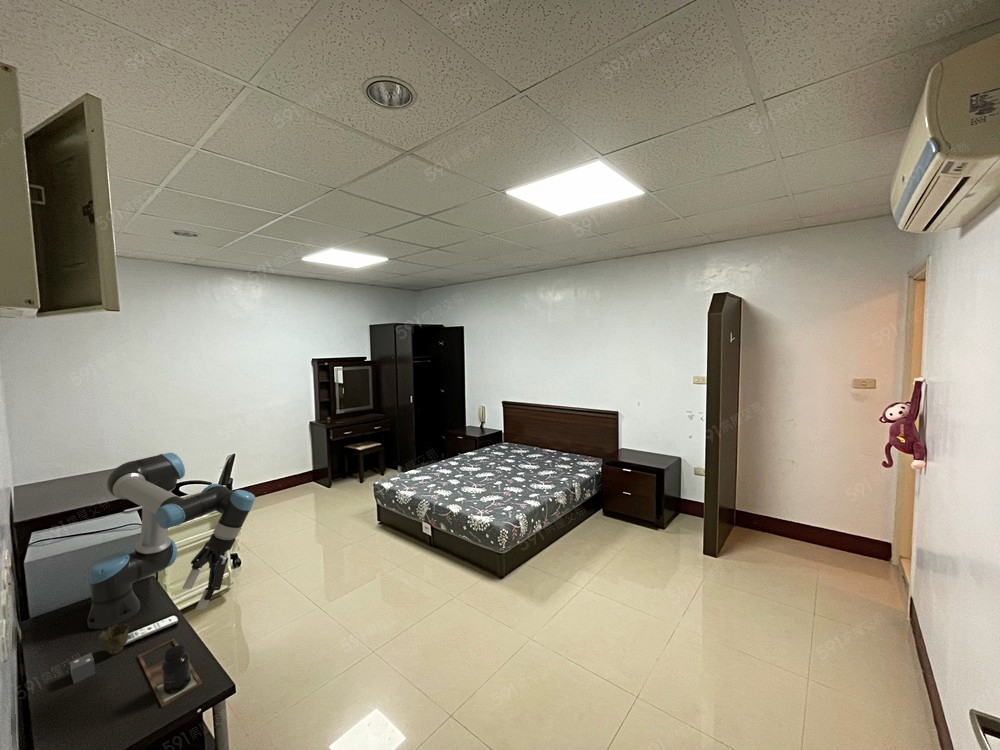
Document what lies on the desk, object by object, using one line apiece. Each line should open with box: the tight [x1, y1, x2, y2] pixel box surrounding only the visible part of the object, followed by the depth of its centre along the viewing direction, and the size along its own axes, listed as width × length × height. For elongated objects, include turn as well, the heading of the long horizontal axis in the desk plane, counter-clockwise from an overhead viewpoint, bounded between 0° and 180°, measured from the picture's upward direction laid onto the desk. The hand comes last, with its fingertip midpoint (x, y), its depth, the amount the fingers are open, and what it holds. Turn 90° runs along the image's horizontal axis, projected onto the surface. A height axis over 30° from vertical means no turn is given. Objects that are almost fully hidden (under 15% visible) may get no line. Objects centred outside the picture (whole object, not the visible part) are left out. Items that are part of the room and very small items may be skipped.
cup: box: [99, 623, 130, 655], centre depth 142 cm, size 8×7×8 cm
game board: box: [137, 638, 203, 708], centre depth 135 cm, size 31×10×1 cm, turn 52°
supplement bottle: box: [162, 644, 191, 694], centre depth 128 cm, size 7×7×12 cm
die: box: [69, 652, 96, 684], centre depth 133 cm, size 5×5×5 cm
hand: (193, 598), depth 137 cm, fingers open, 13 cm apart
